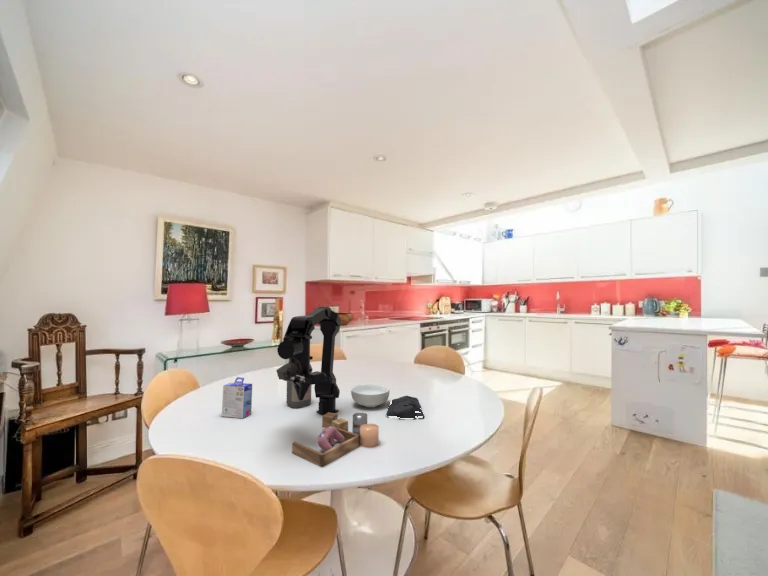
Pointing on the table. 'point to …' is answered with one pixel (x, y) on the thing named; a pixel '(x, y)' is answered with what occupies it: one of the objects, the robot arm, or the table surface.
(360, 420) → the dark tin
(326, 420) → the walnut cube
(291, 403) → the liquor
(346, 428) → the oak cube
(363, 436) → the peach cylinder puck
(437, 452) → the table surface
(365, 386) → the cereal bowl
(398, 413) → the dark slate chunk
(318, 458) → the frame
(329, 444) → the video game controller
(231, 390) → the ink cartridge box
